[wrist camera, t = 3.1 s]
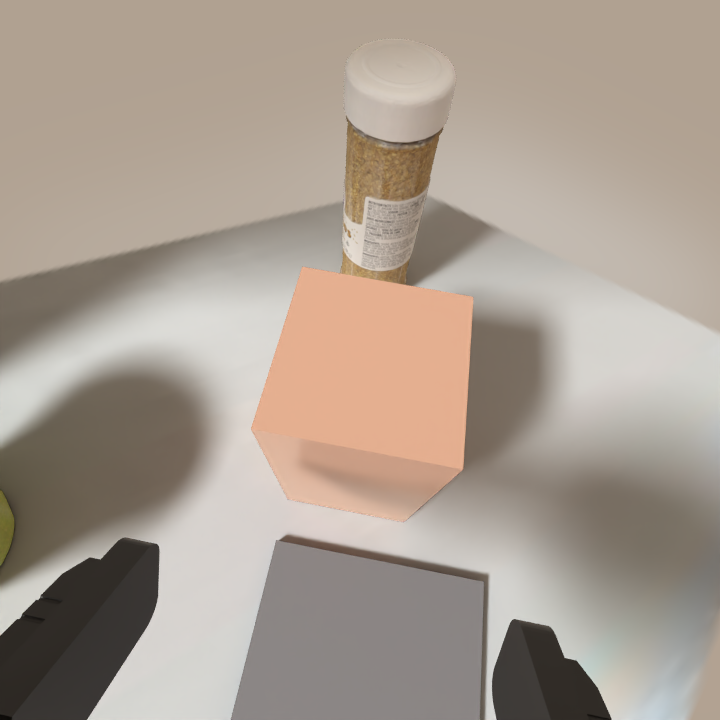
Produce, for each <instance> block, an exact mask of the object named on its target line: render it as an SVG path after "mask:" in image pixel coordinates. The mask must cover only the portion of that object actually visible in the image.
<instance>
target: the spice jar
mask: <svg viewBox="0 0 720 720" xmlns="http://www.w3.org/2000/svg"><path fill="white" fill-rule="evenodd" d="M344 80H345V81H344V110H345V113H346V119H347V121H348V128H347V154H346V175H345V182H344V205H343V233H342V245H343V262H342V266H341V270H340V273H341V274H346V275H352V276H357V277H363V278H369V279H374V280H380V281H386V282H391V283H397V284H403V285H405V284H406V279H407V276H406V271H407V267H408V263H409V259H410V257H411V254H412V252H413V248H414V244H415V240H416V236H417V232H418V228H419V224H420V220H421V216H422V212H423V208H424V204H425V200H426V195H427V191H428V187H429V183H430V173H431V170H432V164H433V160H434V156H435V152H436V148H437V144H438V140H439V135H440V134H441V133H442V130H443V127H444V125H445V124H446V121H447V119H448V115H449V111H450V107H451V103H452V99H453V94H454V89H455V84H456V73H455V69H454V67H453V65H452V63H451V62H450V60H448V58H447V57H446V56H445V55H444V54H442V53H441V52H440V51H438V50H437V49H435V48H433V47H431V46H429V45H426V44H423V43H421V42H417V41H412V40H407V39H381V40H375V41H372V42H369V43H366V44H364V45H362V46H360V47H359V48H357V49H356V50H355V51H354V52H353V53H352V54H351V55H350V56H349V58H348V60H347V62H346V67H345V79H344Z"/></svg>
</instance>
